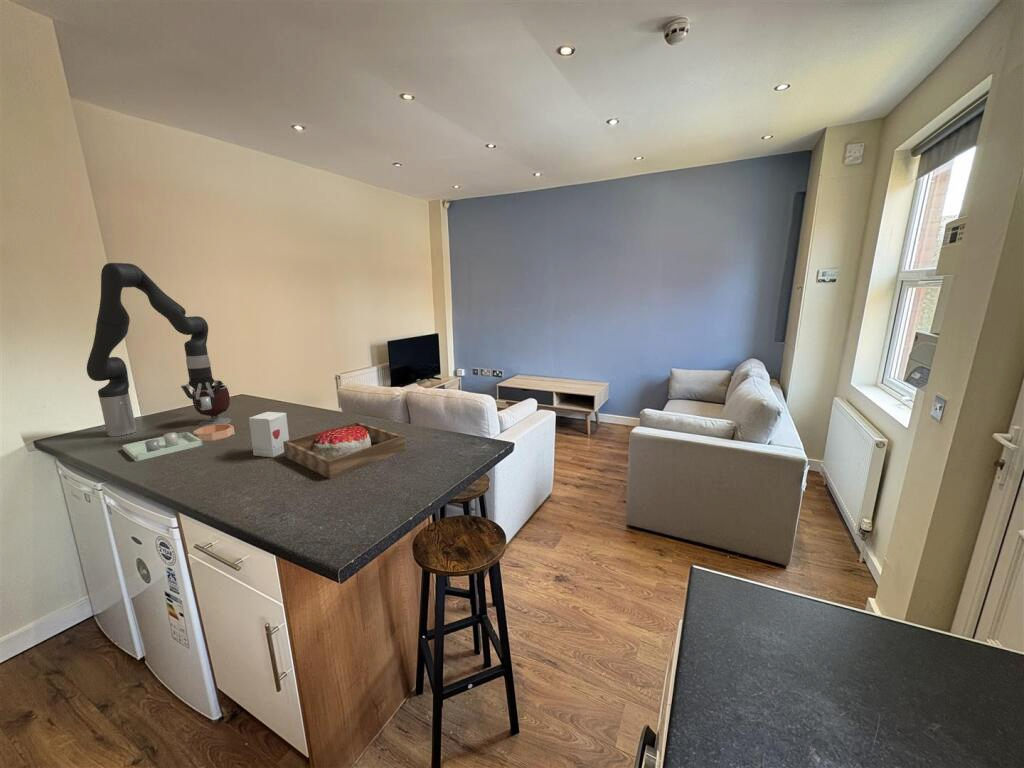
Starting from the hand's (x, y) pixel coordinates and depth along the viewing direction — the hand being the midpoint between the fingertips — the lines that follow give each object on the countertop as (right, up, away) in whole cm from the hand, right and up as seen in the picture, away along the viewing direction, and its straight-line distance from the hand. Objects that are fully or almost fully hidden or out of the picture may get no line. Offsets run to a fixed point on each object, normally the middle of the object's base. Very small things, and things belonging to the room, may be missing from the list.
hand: (205, 406), depth 167 cm
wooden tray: (+64, -17, -14) cm, 68 cm away
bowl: (+2, -13, +3) cm, 14 cm away
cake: (+61, -18, -14) cm, 65 cm away
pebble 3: (0, -1, 0) cm, 1 cm away
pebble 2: (-6, -15, -9) cm, 19 cm away
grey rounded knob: (-6, -17, -17) cm, 25 cm away
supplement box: (+36, -17, -13) cm, 42 cm away
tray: (-8, -16, -11) cm, 21 cm away
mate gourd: (-12, -9, +23) cm, 27 cm away
